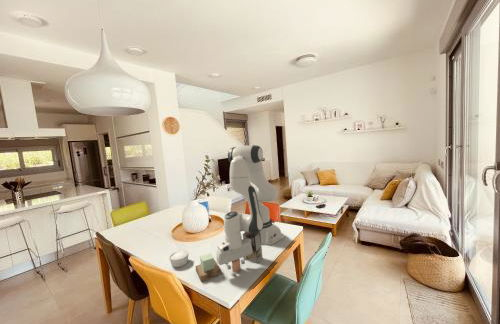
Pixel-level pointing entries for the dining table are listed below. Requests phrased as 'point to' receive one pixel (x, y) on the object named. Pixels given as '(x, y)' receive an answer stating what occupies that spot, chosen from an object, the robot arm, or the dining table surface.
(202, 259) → the green cube
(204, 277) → the walnut base
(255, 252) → the coffee box
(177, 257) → the ramekin
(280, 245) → the dining table surface
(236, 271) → the reddish pink cylinder
